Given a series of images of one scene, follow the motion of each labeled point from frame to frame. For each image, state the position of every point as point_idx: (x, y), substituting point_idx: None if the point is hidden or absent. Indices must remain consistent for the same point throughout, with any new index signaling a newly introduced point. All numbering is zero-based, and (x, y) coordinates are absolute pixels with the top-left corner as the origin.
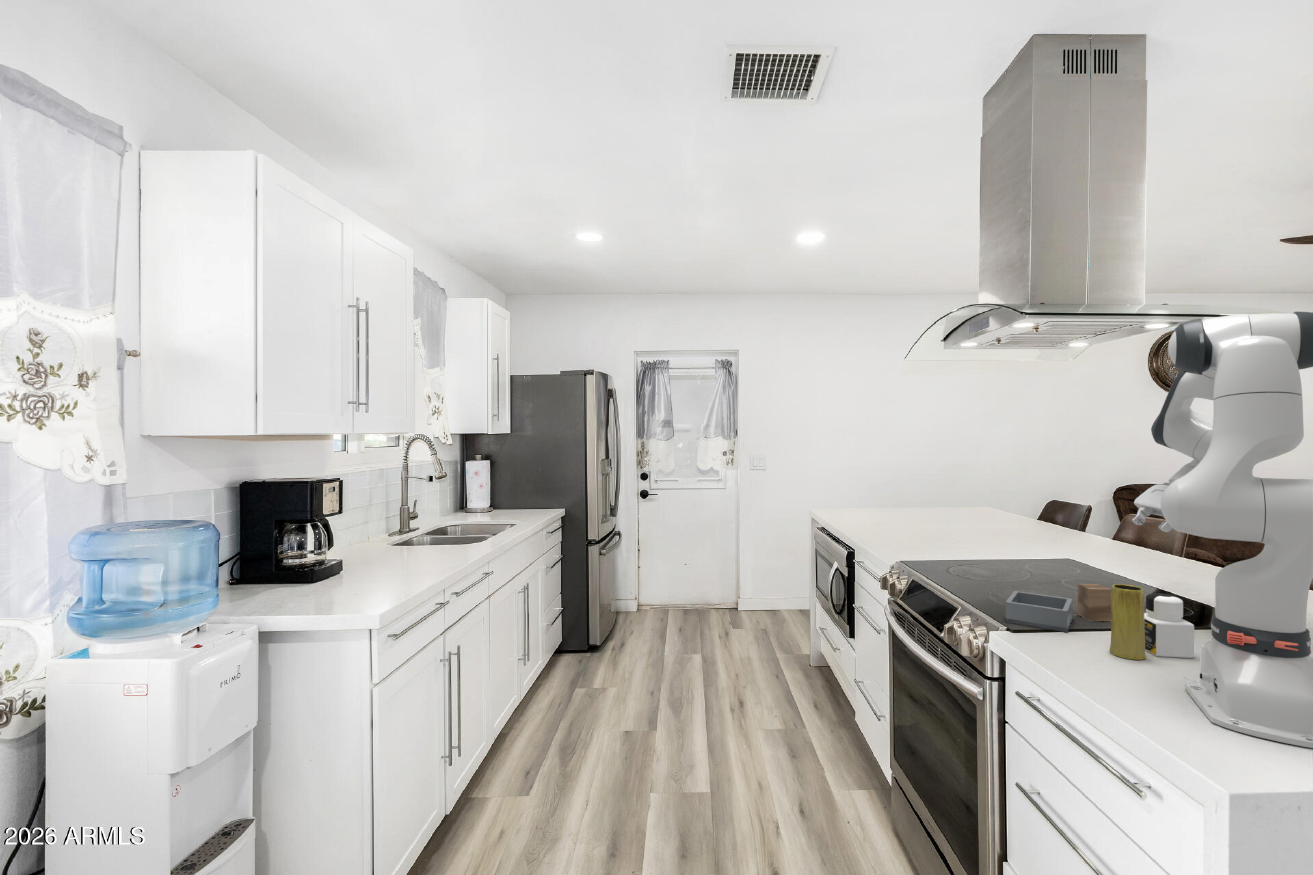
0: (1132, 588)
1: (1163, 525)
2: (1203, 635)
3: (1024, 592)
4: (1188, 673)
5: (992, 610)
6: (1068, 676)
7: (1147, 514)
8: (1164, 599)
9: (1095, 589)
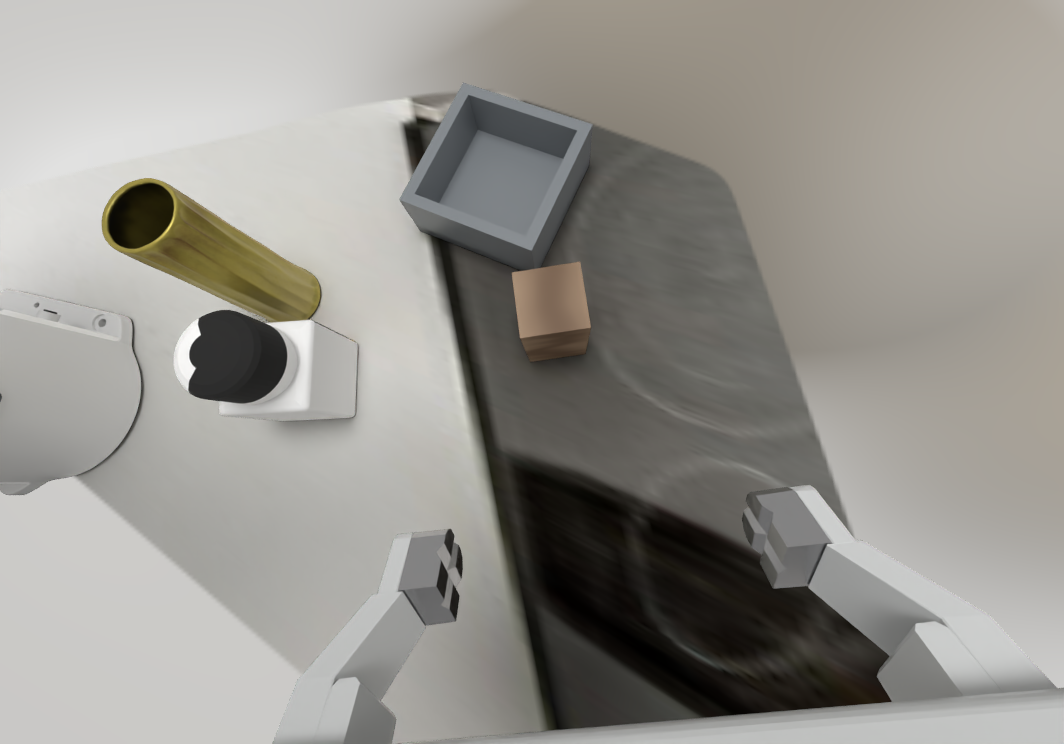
0: (169, 242)
1: (396, 551)
2: None
3: (578, 146)
4: None
5: None
6: (179, 160)
7: (883, 666)
8: (182, 337)
9: (514, 290)
